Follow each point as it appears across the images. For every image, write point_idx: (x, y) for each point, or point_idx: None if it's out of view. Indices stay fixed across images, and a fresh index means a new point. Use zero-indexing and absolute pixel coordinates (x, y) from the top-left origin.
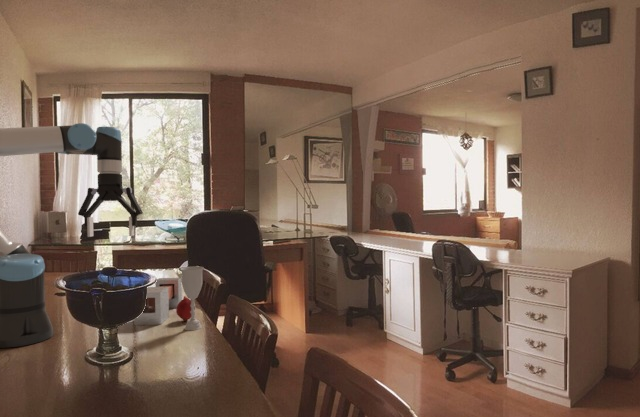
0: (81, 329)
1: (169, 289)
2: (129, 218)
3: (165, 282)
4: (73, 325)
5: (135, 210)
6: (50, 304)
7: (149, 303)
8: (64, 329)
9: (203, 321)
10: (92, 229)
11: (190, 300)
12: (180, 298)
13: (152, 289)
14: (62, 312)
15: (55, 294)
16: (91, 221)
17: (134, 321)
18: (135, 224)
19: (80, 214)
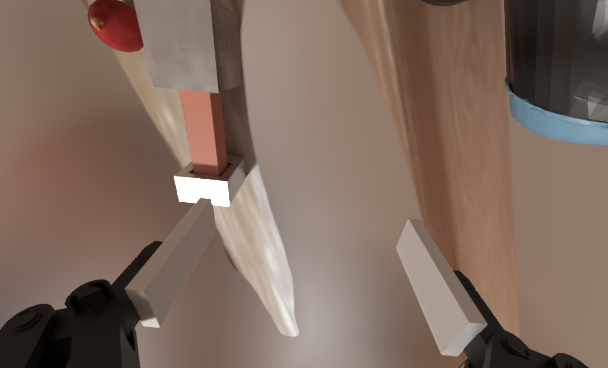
0: (345, 3)
1: (191, 146)
2: (148, 276)
3: (206, 177)
4: (370, 48)
5: (30, 349)
6: (440, 224)
7: None
8: (381, 13)
9: None
10: (411, 269)
11: (89, 22)
12: None
13: (178, 50)
14: (411, 163)
15: None
16: (437, 307)
17: (236, 14)
18: (146, 247)
19: (565, 362)
